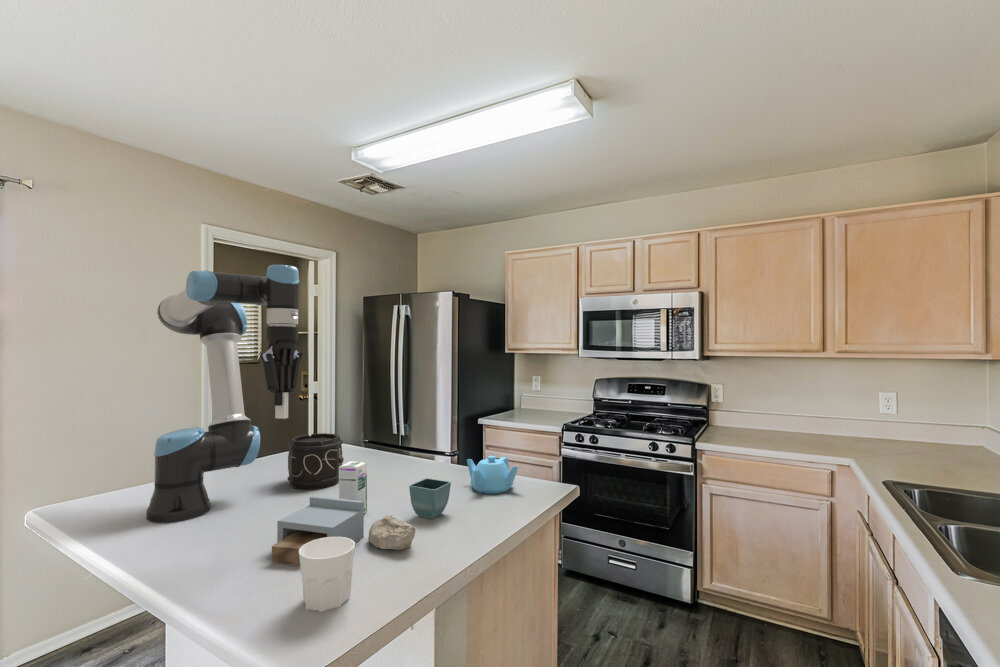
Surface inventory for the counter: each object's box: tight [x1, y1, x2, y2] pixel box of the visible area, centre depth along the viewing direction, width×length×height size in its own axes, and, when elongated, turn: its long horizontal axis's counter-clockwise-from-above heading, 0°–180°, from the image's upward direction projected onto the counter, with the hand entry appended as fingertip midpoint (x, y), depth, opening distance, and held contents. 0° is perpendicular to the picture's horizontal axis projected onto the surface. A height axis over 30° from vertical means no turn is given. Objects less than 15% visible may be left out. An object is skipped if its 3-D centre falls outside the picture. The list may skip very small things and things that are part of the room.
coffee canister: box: [286, 432, 345, 491], centre depth 169 cm, size 18×18×16 cm
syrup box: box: [338, 460, 368, 515], centre depth 138 cm, size 6×6×14 cm
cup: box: [299, 537, 356, 613], centre depth 93 cm, size 10×10×10 cm
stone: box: [367, 514, 417, 551], centre depth 117 cm, size 8×12×10 cm, turn 51°
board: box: [271, 530, 327, 566], centre depth 114 cm, size 8×14×4 cm, turn 170°
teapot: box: [466, 455, 519, 495], centre depth 163 cm, size 15×15×11 cm
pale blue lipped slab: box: [276, 495, 365, 544], centre depth 118 cm, size 15×13×9 cm
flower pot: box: [408, 477, 452, 520], centre depth 138 cm, size 9×9×9 cm
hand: (281, 417), depth 125 cm, fingers closed
